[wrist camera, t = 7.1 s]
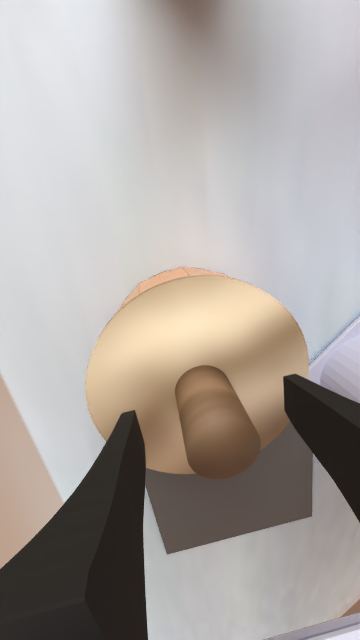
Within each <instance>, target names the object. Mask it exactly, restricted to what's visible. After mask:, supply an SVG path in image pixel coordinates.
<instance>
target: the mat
mask: <svg viewBox="0 0 360 640" xmlns="http://www.w3.org/2000/svg"><path fill="white" fill-rule="evenodd" d="M312 457H313V452H312V451H311V450H310V448H309V447H308V446H307V444H306V443H305V442H304V440H303V439H302V438H301V436H300V435H299V434H298V432H297V431H296V430H295V428H294V426H293V425H292V423H291V421H290V422H289V423H288V425H287V426H286V427H285V428H284V430H283V431H282V432H281V433H280V434H279V435H278V436H277V437H276V438H275V439H274V440H273V441H272V442H271V443H269V444H268V445H267V446H266V447H264V448H263V449H262V450H260V452H259V454H258V456H257V458H256V460H255V461H254V462H253V463H252V465H251V466H250V467H248V468H247V469H246V470H244V471H243V472H241V473H240V474H237V475H235V476H232V477H229V478H225V479H209V478H205V477H202V476H200V475H198V474H172V473H165V472H159V471H156V470H152V469H148V468H146V476H145V485H146V488H147V491H148V495H149V498H150V501H151V504H152V507H153V511H154V514H155V517H156V520H157V524H158V527H159V530H160V533H161V536H162V540H163V543H164V546H165V549H166V552H167V554H170V553H174V552H178V551H182V550H186V549H189V548H193V547H197V546H201V545H205V544H208V543H212V542H216V541H220V540H224V539H227V538H231V537H235V536H239V535H242V534H246V533H250V532H254V531H258V530H261V529H265V528H269V527H273V526H277V525H280V524H284V523H288V522H292V521H295V520H299V519H303V518H307V517H311V516H312Z"/></svg>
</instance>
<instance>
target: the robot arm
mask: <svg viewBox="0 0 360 640" xmlns="http://www.w3.org/2000/svg"><path fill="white" fill-rule="evenodd" d="M283 386H284V411H285V412H286V414H287V416H288V418H289V420H290V421H291V423H292V425H293V426H294V428H295V430H296V431H297V432H298V434H299V435H300V436H301V438H302V439H303V440H304V442H305V443H306V444H307V446H308V447H309V448H310V450H311V451H312V452H313V454H314V455H315V456H316V457H317V459H318V460H319V461H320V463H321V464H322V465H323V467H324V468H325V469H326V471H327V472H328V473H329V475H330V476H331V477H332V479H333V480H334V482H335V483H336V485H337V486H338V488H339V489H340V491H341V493H342V494H343V496H344V497H345V499H346V501H347V502H348V504H349V505H350V507H351V509H352V510H353V512H354V514H355V515H356V517H357V519H358V520H359V522H360V316H359V317H358V318H357V319H356V320H355V321H354V322H353V323H352V324H351V325H350V326H349V327H347V328H346V329H345V330H344V331H343V332H342V333H341V334H340V335H339V336H338V337H337V338H336V339H335V340H334V341H333V342H332V343H331V344H330V345H329V346H328V347H327V348H326V349H325V350H324V351H323V352H322V353H321V354H320V355H319V356H318V357H317V358H316V359H315V360H314V361H313V362H312V363H311V364H310V365H309V373H308V379H306V378H304V377H302V376H300V375H297V374H291V375H287V376H283ZM145 476H146V456H145V443H144V439H143V436H142V432H141V429H140V425H139V422H138V418H137V415H136V412H135V410H132V411H128V412H123V413H122V414H121V415H120V417H119V419H118V421H117V423H116V425H115V427H114V429H113V431H112V433H111V435H110V437H109V438H108V440H107V442H106V444H105V446H104V447H103V449H102V451H101V453H100V454H99V456H98V457H97V459H96V461H95V462H94V464H93V465H92V467H91V469H90V470H89V472H88V473H87V474H86V476H85V477H84V479H83V480H82V482H81V483H80V484H79V486H78V487H77V488H76V490H75V491H74V492H73V494H72V495H71V496H70V497H69V499H68V500H67V501H66V502H65V503H64V505H63V506H62V507H61V508H60V509H59V510H58V512H57V513H56V514H55V515H54V516H53V518H52V519H51V520H50V521H49V522H48V523H47V524H46V525H45V526H44V527H43V528H42V529H41V531H39V532H38V534H36V535H35V537H34V538H33V539H32V540H31V541H30V542H29V543H28V544H27V545H26V546H25V547H24V548H22V549H21V551H19V552H18V553H17V554H16V555H15V556H14V557H13V558H12V559H11V560H10V561H9V562H8V563H6V564H5V565H4V566H3V567H2V568H1V569H0V640H148V633H147V616H146V597H145V575H144V548H143V513H144V495H145ZM264 640H360V612H359V613H355V614H352V615H348V616H345V617H341V618H338V619H334V620H331V621H327V622H324V623H320V624H317V625H313V626H310V627H306V628H303V629H299V630H296V631H292V632H289V633H285V634H282V635H278V636H275V637H271V638H268V639H264Z"/></svg>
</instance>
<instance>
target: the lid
mask: <svg viewBox="0 0 360 640" xmlns="http://www.w3.org/2000/svg"><path fill="white" fill-rule="evenodd" d="M308 373H309V357H308V351H307V345H306V342H305V339H304V336H303V333H302V331H301V329H300V327H299V325H298V323H297V322H296V320H295V319H294V318H293V316H292V315H291V313H290V312H289V311H288V310H287V309H286V308H285V307H284V306H283V305H282V304H281V303H280V302H279V301H277V300H276V299H275V298H273V297H272V296H271V295H269V294H268V293H266V292H264V291H262V290H260V289H258V288H257V287H255V286H253V285H251V284H249V283H246V282H243V281H240V280H237V279H234V278H229V277H224V276H214V275H197V276H187V277H182V278H177V279H173V280H170V281H167V282H164V283H161V284H158V285H156V286H154V287H152V288H150V289H148V290H146V291H144V292H142V293H141V294H139V295H138V296H136V297H135V298H133V299H132V300H130V301H129V302H128V303H127V304H126V305H124V306H123V307H122V308H121V309H120V310H119V311H118V312H117V313H116V314H115V315H114V316H113V318H112V319H111V320H110V321H109V322H108V323H107V325H106V327H105V328H104V330H103V331H102V333H101V334H100V336H99V338H98V340H97V343H96V345H95V347H94V349H93V352H92V354H91V357H90V361H89V364H88V368H87V374H86V382H85V387H86V400H87V405H88V410H89V412H90V415H91V418H92V420H93V422H94V424H95V426H96V428H97V430H98V431H99V433H100V434H101V435H102V437H103V438H104V439H105V441H106V442H107V440H108V438H109V437H110V435H111V433H112V431H113V429H114V427H115V425H116V423H117V421H118V419H119V417H120V415H121V414H122V413H123V412H128V411H132V410H135V412H136V415H137V418H138V422H139V425H140V429H141V432H142V436H143V439H144V443H145V456H146V468H148V469H152V470H156V471H159V472H165V473H172V474H198V475H200V476H202V477H205V478H209V479H225V478H229V477H232V476H235V475H237V474H240V473H241V472H243V471H244V470H246V469H247V468H248V467H250V466H251V465H252V463H253V462H254V461H255V460H256V458H257V456H258V454H259V452H260V450H262V449H263V448H264V447H266V446H267V445H268V444H269V443H271V442H272V441H273V440H274V439H275V438H276V437H277V436H278V435H279V434H280V433H281V432H282V431H283V430H284V428H285V427H286V426H287V425H288V423H289V422H290V420H289V418H288V416H287V414H286V412H285V411H284V386H283V376H287V375H291V374H297V375H300V376H302V377H304V378H306V379H308Z"/></svg>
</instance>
